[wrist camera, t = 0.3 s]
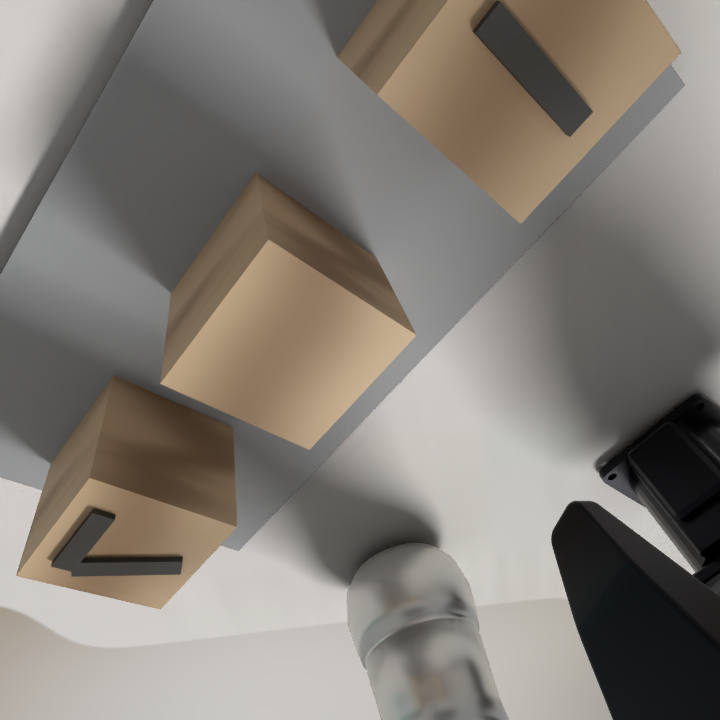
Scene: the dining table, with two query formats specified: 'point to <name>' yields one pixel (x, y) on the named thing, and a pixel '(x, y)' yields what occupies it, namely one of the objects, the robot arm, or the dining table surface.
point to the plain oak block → (281, 319)
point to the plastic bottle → (421, 637)
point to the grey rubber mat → (216, 197)
